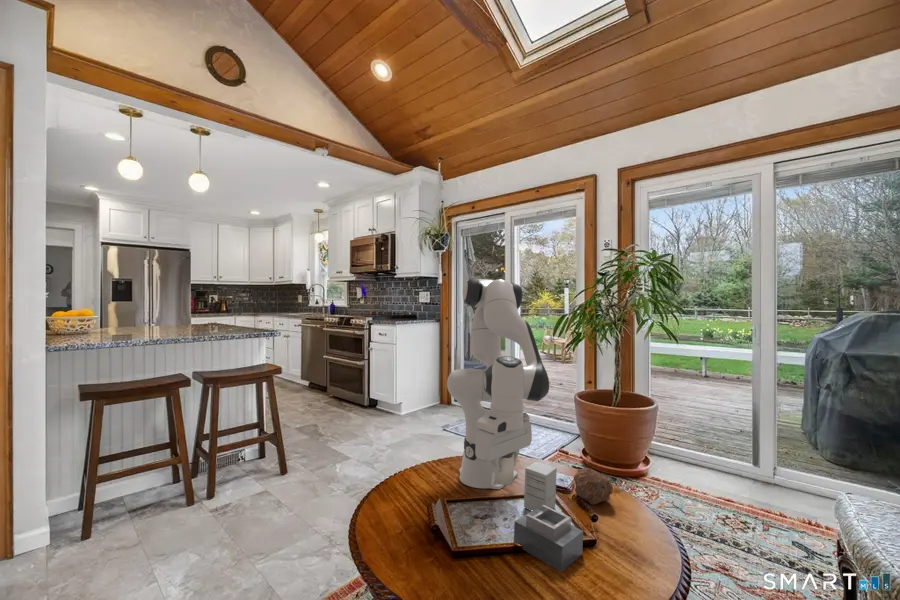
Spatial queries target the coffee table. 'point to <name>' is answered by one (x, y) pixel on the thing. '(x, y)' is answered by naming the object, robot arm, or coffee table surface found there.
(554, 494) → the supplement box
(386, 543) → the coffee table surface
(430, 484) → the coffee table surface
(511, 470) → the cream cylinder
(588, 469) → the decorative rock
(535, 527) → the grey socket block
